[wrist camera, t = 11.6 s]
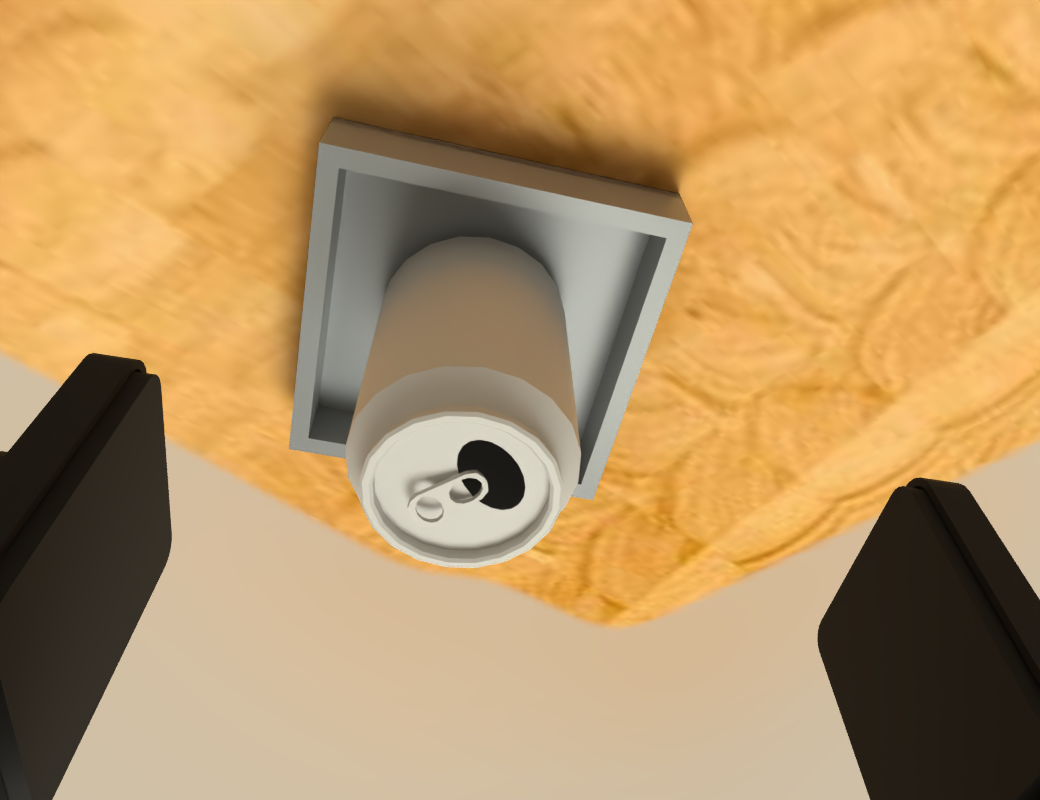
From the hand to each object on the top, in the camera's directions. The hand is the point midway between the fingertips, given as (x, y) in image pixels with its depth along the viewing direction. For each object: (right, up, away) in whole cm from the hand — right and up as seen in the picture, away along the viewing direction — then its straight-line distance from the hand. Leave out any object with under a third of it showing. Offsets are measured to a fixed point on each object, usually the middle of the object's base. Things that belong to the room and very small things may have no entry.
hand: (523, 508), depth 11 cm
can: (-2, +5, +25) cm, 26 cm away
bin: (-2, +5, +25) cm, 26 cm away
